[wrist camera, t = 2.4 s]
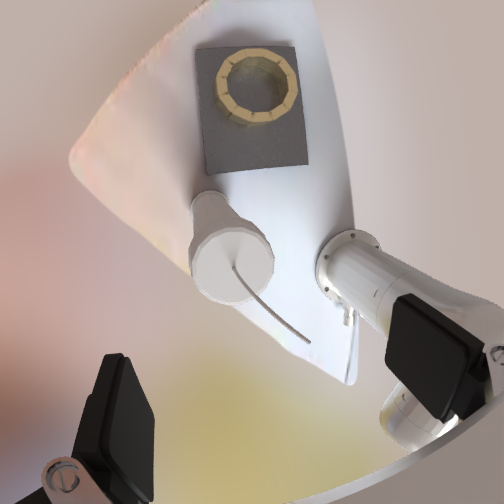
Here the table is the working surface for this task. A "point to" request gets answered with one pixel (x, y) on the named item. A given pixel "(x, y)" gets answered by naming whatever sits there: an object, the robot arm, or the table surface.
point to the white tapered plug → (229, 255)
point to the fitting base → (250, 108)
